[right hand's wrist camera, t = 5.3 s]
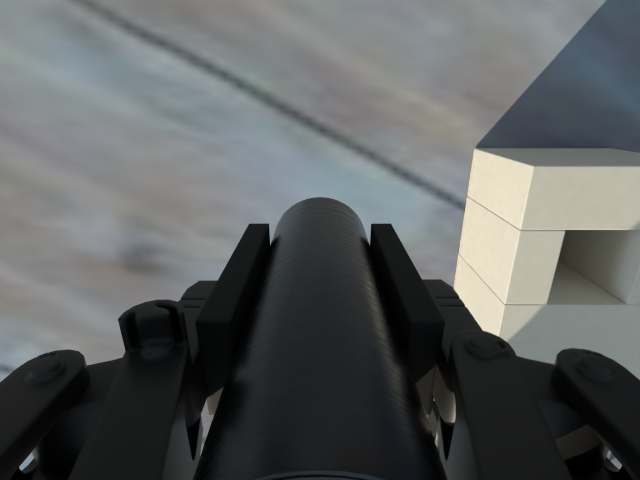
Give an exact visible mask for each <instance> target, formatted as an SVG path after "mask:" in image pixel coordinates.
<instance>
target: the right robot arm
mask: <svg viewBox="0 0 640 480" xmlns="http://www.w3.org/2000/svg"><path fill="white" fill-rule="evenodd" d="M370 248H371V251H372V254H373V257H374V260H375V263H376V266H377V269H378V272H379V275H380V278H381V281H382V284H383V287H384V290H385V293H386V296H387V299H388V302H389V305H390V308H391V311H392V314H393V317H394V320H395V323H396V326H397V329H398V332H399V335H400V338H401V341H402V344H403V347H404V350H405V353H406V356H407V359H408V362H409V365H410V368H411V371H412V374H413V377H414V380H415V383H416V386H417V389H418V392H419V395H420V398H421V401H422V404H423V407H424V410H425V413H426V415H431V411H432V405H433V398H434V399H435V402H436V404H437V407H438V410H439V412H440V413H439V420H438V426H437V432H436V438H435V443H436V446H437V449H438V451H440V458H441V461H442V464H443V467H444V470H445V473H446V476H447V479H448V480H640V380H639V379H638V378H637V377H636V376H634V375H633V374H632V373H631V372H630V371H629V370H627V369H626V368H625V367H623V366H622V365H620V364H619V363H617V362H616V361H615V360H613V359H611V358H608V357H606V356H604V355H602V354H600V353H598V352H595V351H591V350H586V349H578V348H569V349H564V350H561V351H560V352H559V353H558V354H557V356H556V359H555V363H554V364H551V363H546V362H541V361H536V360H531V359H527V358H523V357H519V356H516V353H515V351H514V350H513V348H512V347H511V346H510V344H509V343H508V342H506V341H505V340H503V339H502V338H501V337H499V336H497V335H494V334H492V333H489V332H486V331H483V330H482V329H481V327H480V326H479V324H478V323H477V321H476V320H475V318H474V317H473V316H472V314H471V313H470V311H469V310H468V308H467V307H465V304H464V303H463V301H462V300H461V299H460V297H459V295H458V294H457V293H456V291H455V290H454V288H453V287H451V286H450V285H448V284H447V283H445V282H444V281H442V280H422V279H421V277H420V275H419V274H418V272H417V270H416V268H415V266H414V265H413V263H412V261H411V259H410V257H409V256H408V254H407V252H406V250H405V248H404V247H403V245H402V243H401V241H400V239H399V238H398V236H397V234H396V232H395V230H394V229H393V227H392V225H391V224H371V240H370ZM269 249H270V236H269V224H249V225H248V227H247V229H246V231H245V233H244V234H243V236H242V238H241V240H240V242H239V243H238V245H237V247H236V249H235V251H234V252H233V254H232V256H231V258H230V260H229V261H228V263H227V265H226V267H225V269H224V270H223V272H222V274H221V276H220V278H219V279H218V281H198V282H197V283H195V284H194V285H192V286H191V287H189V288H188V289H187V290H186V292H185V293H184V294H183V296H182V297H181V300H179V302H176V301H172V300H154V301H149V302H145V303H142V304H139V305H136V306H134V307H132V308H130V309H129V310H127V311H126V312H124V313H123V314H122V315H121V316H120V317H119V319H118V321H119V325H120V330H121V334H122V338H123V342H124V346H125V350H126V352H125V354H124V356H123V358H120V359H116V360H112V361H107V362H102V363H97V364H93V365H88V366H87V365H86V362H85V358H84V356H83V355H82V354H81V353H80V352H79V351H74V350H59V351H53V352H49V353H45V354H42V355H40V356H38V357H36V358H34V359H32V360H29V361H27V362H26V363H24V364H23V365H22V366H20V367H19V368H17V369H16V370H14V371H13V372H12V373H11V374H10V375H9V376H7V377H6V378H5V379H4V380H3V381H2V382H0V480H193V477H194V474H195V471H196V468H197V465H198V462H199V459H200V451H201V442H202V434H203V426H202V420H201V412H202V409H203V407H204V404H205V401H206V399H207V403H208V410H209V415H214V414H215V411H216V408H217V405H218V402H219V399H220V396H221V393H222V390H223V387H224V384H225V381H226V378H227V375H228V372H229V369H230V366H231V363H232V360H233V357H234V354H235V351H236V348H237V345H238V342H239V339H240V336H241V333H242V330H243V327H244V324H245V321H246V318H247V315H248V312H249V309H250V306H251V303H252V300H253V297H254V294H255V291H256V288H257V285H258V282H259V279H260V276H261V273H262V270H263V267H264V264H265V261H266V258H267V255H268V252H269ZM609 450H610V451H611V453H612V454H613V455H614V456H615V457H616V458H617V460H618V461H619V462H620V463H621V464H622V467H621V469H620V470H619V469H618V468H617V467H616V466H614V465H613V464H612V462H611V461H610V460H609V459H608V458H607V454H608V452H609ZM31 452H32V454H33V456H34V459H33V460H32V461H31V462H30V464H29V465H28V466H27V467H26V468H24V469H23V470H22V471H21V470H20V469H19V466H20V465H21V464H22V463H23V461H24V460H25V459H26V458H27V457H28V456H29V454H30V453H31Z"/></svg>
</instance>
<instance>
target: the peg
mask: <svg viewBox="0 0 640 480" xmlns="http://www.w3.org/2000/svg"><path fill="white" fill-rule="evenodd" d="M193 480H448V479H447V476H446V473H445V470H444V467H443V464H442V461H441V458H440V455H439V452H438V449H437V446H436V443H435V440H434V437H433V434H432V431H431V428H430V425H429V422H428V419H427V416H426V413H425V410H424V407H423V404H422V401H421V398H420V395H419V392H418V389H417V386H416V383H415V380H414V377H413V374H412V371H411V368H410V365H409V362H408V359H407V356H406V353H405V350H404V347H403V344H402V341H401V338H400V335H399V332H398V329H397V326H396V323H395V320H394V317H393V314H392V311H391V308H390V305H389V302H388V299H387V296H386V293H385V290H384V287H383V284H382V281H381V278H380V275H379V272H378V269H377V266H376V263H375V260H374V257H373V254H372V251H371V248H370V245H369V242H368V239H367V236H366V233H365V230H364V227H363V224H362V222H361V220H360V219H359V217H358V216H357V214H356V213H355V212H354V211H353V210H352V209H351V208H350V207H348V206H347V205H345V204H344V203H342V202H340V201H337V200H334V199H330V198H322V197H318V198H310V199H306V200H303V201H301V202H299V203H296V204H295V205H293V206H292V207H291V208H289V209H288V210H287V211H286V212H285V213H284V215H283V216H282V217H281V219H280V221H279V223H278V225H277V228H276V231H275V234H274V237H273V240H272V243H271V246H270V249H269V252H268V255H267V258H266V261H265V264H264V267H263V270H262V273H261V276H260V279H259V282H258V285H257V288H256V291H255V294H254V297H253V300H252V303H251V306H250V309H249V312H248V315H247V318H246V321H245V324H244V327H243V330H242V333H241V336H240V339H239V342H238V345H237V348H236V351H235V354H234V357H233V360H232V363H231V366H230V369H229V372H228V375H227V378H226V381H225V384H224V387H223V390H222V393H221V396H220V399H219V402H218V405H217V408H216V411H215V414H214V417H213V420H212V423H211V426H210V429H209V432H208V435H207V438H206V441H205V444H204V447H203V450H202V453H201V456H200V459H199V462H198V465H197V468H196V471H195V474H194V477H193Z"/></svg>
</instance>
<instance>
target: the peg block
mask: <svg viewBox="0 0 640 480" xmlns="http://www.w3.org/2000/svg"><path fill="white" fill-rule="evenodd" d="M454 290H455V291H456V293H457V294H458V295H459V297H460V299H461V300H462V301H463V303H464V304H465V307H467V308H468V310H469V311H470V313H471V314H472V316H473V317H474V318H475V320H476V321H477V323H478V324H479V326H480V327H481V329H482V330H483V331H486V332H489V333H492V334H494V335H497V336H499V337H501V338H502V339H503V340H505V341H506V342H508V343H509V344H510V346H511V347H512V348H513V350H514V351H515V353H516V356H519V357H523V358H527V359H531V360H536V361H541V362H546V363H551V364H554V363H555V359H556V356H557V354H558V353H559V352H560V351H561V350H564V349H569V348H578V349H586V350H591V351H595V352H598V353H600V354H602V355H604V356H606V357H608V358H611V359H613V360H615V361H616V362H617V363H619V364H620V365H622V366H623V367H625V368H626V369H627V370H629V371H630V372H631V373H632V374H633V375H634V376H636V377H637V378H638V379H639V380H640V153H638V152H632V151H625V150H619V149H612V148H475V149H474V154H473V161H472V168H471V174H470V181H469V188H468V196H467V201H466V208H465V215H464V222H463V228H462V235H461V242H460V249H459V255H458V262H457V269H456V275H455V282H454ZM610 455H611V451H610V450H609V452H608V454H607V458H608V459H609V458H610Z"/></svg>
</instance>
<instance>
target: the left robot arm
mask: <svg viewBox="0 0 640 480" xmlns="http://www.w3.org/2000/svg"><path fill="white" fill-rule="evenodd" d="M439 413H440V412H439V410H438V407H437V404H436V402H435V401H433V405H432V411H431V415H428V422H429V425H430V428H431V431H432V434H433V437H434V440H435V438H436V432H437V426H438V420H439ZM438 452H439V455H440V451H438Z"/></svg>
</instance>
